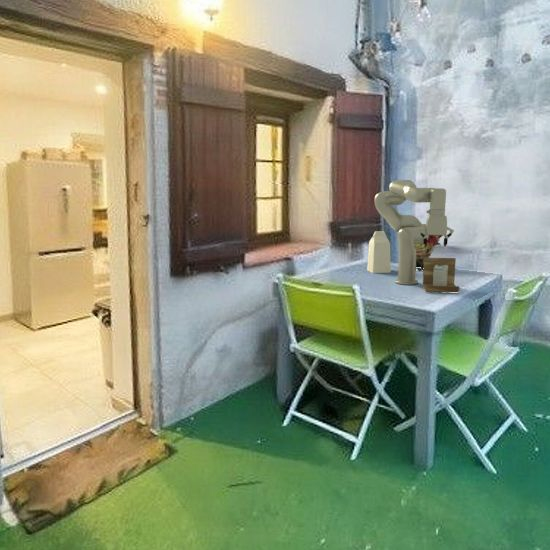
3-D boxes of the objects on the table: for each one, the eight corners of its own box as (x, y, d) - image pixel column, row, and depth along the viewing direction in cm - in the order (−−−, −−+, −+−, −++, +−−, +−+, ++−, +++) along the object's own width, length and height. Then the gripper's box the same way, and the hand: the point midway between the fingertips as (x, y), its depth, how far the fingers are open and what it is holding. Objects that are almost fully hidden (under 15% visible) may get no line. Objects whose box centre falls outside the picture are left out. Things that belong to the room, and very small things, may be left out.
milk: (372, 273, 298) (373, 232, 293) (367, 270, 309) (367, 231, 305) (390, 272, 300) (392, 232, 295) (384, 269, 311) (385, 230, 306)
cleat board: (422, 286, 256) (423, 257, 253) (453, 287, 252) (455, 257, 250) (425, 292, 240) (427, 262, 237) (458, 293, 237) (460, 262, 234)
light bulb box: (434, 283, 252) (435, 264, 250) (447, 284, 250) (448, 264, 248) (432, 287, 243) (433, 267, 241) (446, 288, 240) (447, 267, 238)
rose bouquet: (399, 265, 328) (400, 222, 323) (443, 266, 318) (445, 222, 313) (395, 271, 305) (397, 225, 299) (443, 273, 295) (445, 225, 289)
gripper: (420, 213, 236) (418, 246, 240) (456, 213, 234) (454, 247, 237) (418, 212, 244) (416, 244, 247) (453, 212, 241) (451, 245, 244)
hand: (435, 246), depth 242 cm, fingers open, 9 cm apart
